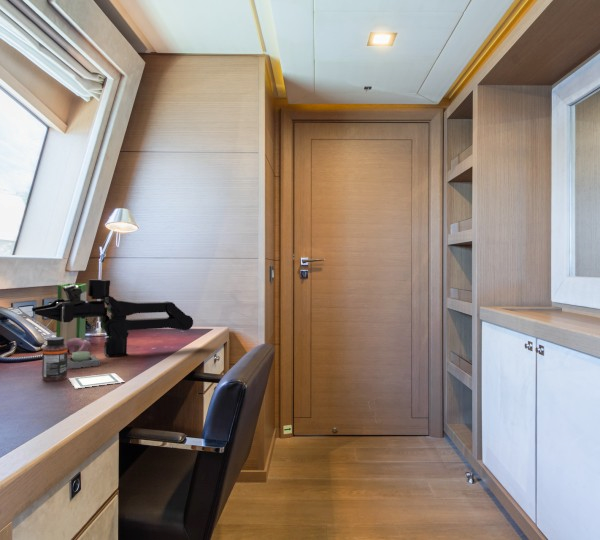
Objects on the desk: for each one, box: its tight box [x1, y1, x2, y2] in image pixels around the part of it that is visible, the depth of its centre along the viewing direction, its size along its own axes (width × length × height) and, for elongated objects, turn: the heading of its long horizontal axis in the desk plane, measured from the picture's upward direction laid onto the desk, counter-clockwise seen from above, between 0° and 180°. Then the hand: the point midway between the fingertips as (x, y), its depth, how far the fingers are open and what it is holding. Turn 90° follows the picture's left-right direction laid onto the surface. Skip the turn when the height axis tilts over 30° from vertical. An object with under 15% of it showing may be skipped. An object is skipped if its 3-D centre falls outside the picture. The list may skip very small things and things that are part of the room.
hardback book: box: [55, 283, 88, 349], centre depth 160 cm, size 18×7×24 cm, turn 21°
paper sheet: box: [68, 372, 126, 390], centre depth 114 cm, size 12×11×1 cm
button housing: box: [67, 354, 100, 370], centre depth 132 cm, size 9×9×2 cm
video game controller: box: [65, 338, 91, 355], centre depth 146 cm, size 10×5×7 cm, turn 71°
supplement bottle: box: [41, 336, 68, 382], centre depth 115 cm, size 6×6×11 cm
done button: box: [71, 350, 91, 362], centre depth 132 cm, size 5×5×2 cm
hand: (33, 310), depth 133 cm, fingers open, 9 cm apart
